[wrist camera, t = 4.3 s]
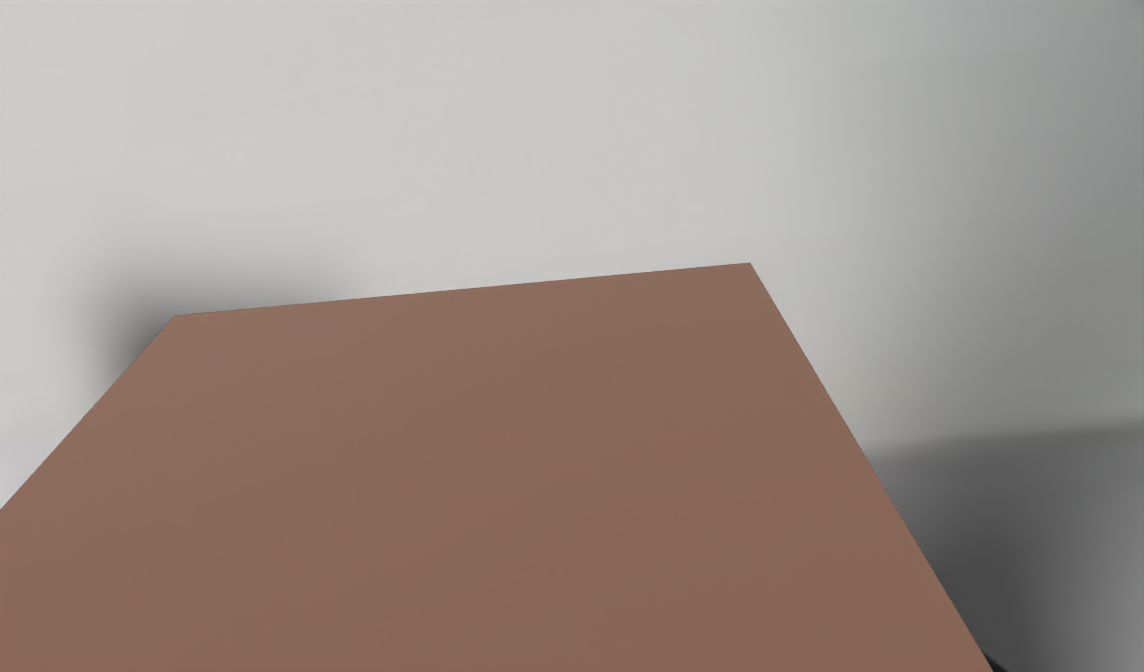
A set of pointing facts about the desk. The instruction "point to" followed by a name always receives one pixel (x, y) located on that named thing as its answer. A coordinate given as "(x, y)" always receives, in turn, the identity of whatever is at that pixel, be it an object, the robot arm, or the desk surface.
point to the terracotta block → (473, 497)
